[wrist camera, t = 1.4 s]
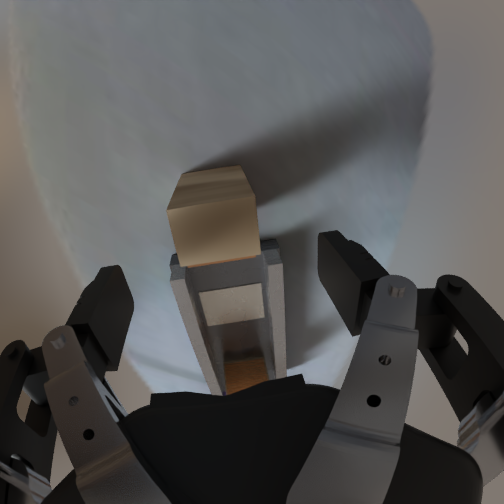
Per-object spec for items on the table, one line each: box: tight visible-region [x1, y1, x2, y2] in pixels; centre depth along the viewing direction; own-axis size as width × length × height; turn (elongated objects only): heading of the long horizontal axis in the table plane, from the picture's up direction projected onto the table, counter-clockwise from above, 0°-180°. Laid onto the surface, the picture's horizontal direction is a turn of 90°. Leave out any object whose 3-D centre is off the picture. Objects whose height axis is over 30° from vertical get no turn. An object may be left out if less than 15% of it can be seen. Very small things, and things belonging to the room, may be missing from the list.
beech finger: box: [166, 165, 261, 268], centre depth 16 cm, size 4×4×7 cm
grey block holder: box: [170, 239, 287, 396], centre depth 22 cm, size 17×8×8 cm, turn 6°
